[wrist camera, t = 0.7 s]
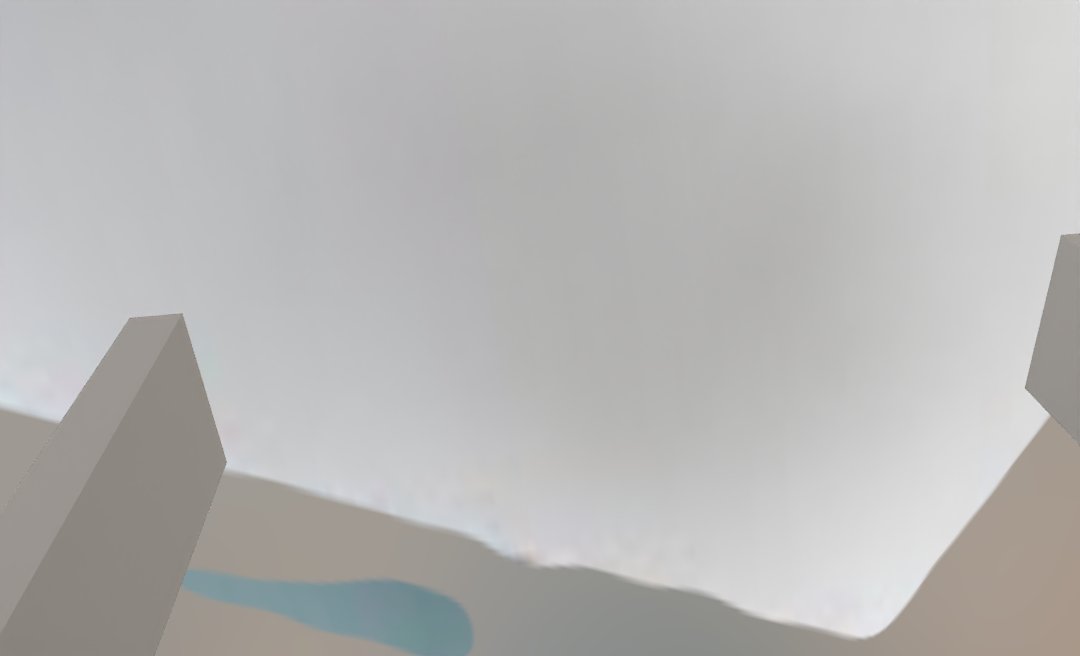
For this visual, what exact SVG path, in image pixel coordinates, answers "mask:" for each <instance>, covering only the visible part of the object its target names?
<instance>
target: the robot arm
mask: <svg viewBox="0 0 1080 656" xmlns="http://www.w3.org/2000/svg"><path fill="white" fill-rule="evenodd" d="M1025 389H1026V390H1027V391H1028V392H1029V393H1030V394H1031V395H1032V396H1033V397H1034V398H1035V399H1036V400H1037V401H1038V402H1039V403H1040V404H1041V405H1042V407H1043V408H1044V409H1045V410H1046V411H1047V412H1048V413H1049V414H1050V415H1051V416H1052V417H1053V418H1054V419H1055V420H1056V421H1057V422H1058V423H1059V424H1060V425H1061V427H1063V429H1064V430H1065V431H1066V432H1067V433H1068V434H1069V435H1070V436H1071V437H1072V438H1073V439H1074V440H1075V441H1076V442H1077V443H1078V444H1079V445H1080V234H1069V235H1061V238H1060V242H1059V247H1058V251H1057V255H1056V259H1055V263H1054V268H1053V272H1052V276H1051V280H1050V284H1049V289H1048V293H1047V297H1046V301H1045V305H1044V310H1043V314H1042V318H1041V322H1040V327H1039V331H1038V335H1037V339H1036V343H1035V348H1034V352H1033V356H1032V360H1031V364H1030V369H1029V373H1028V377H1027V381H1026V385H1025ZM226 463H227V461H226V458H225V455H224V451H223V448H222V445H221V441H220V438H219V435H218V431H217V428H216V425H215V421H214V418H213V415H212V411H211V408H210V404H209V401H208V398H207V394H206V391H205V388H204V384H203V381H202V378H201V374H200V371H199V368H198V364H197V361H196V358H195V354H194V351H193V348H192V344H191V341H190V338H189V334H188V331H187V328H186V324H185V321H184V318H183V314H171V315H159V316H148V317H137V318H130V319H129V320H128V322H127V323H126V325H125V326H124V328H123V329H122V331H121V332H120V334H119V335H118V337H117V338H116V340H115V341H114V343H113V344H112V346H111V347H110V349H109V350H108V352H107V353H106V355H105V356H104V358H103V359H102V361H101V362H100V364H99V365H98V367H97V368H96V370H95V371H94V373H93V374H92V376H91V377H90V379H89V380H88V382H87V383H86V385H85V386H84V388H83V389H82V391H81V392H80V394H79V395H78V397H77V398H76V400H75V401H74V403H73V404H72V406H71V407H70V409H69V410H68V412H67V413H66V415H65V416H64V418H63V419H62V421H61V422H60V424H59V425H58V427H57V428H56V430H55V432H54V433H53V434H52V436H51V438H50V439H49V440H48V442H47V443H46V445H45V446H44V448H43V449H42V451H41V452H40V454H39V455H38V457H37V458H36V460H35V461H34V463H33V464H32V466H31V467H30V469H29V470H28V472H27V473H26V475H25V477H24V478H23V480H22V481H21V482H20V484H19V485H18V487H17V488H16V490H15V491H14V493H13V495H12V496H11V497H10V499H9V501H8V502H7V504H6V505H5V506H4V508H3V509H2V511H1V512H0V656H155V654H156V651H157V649H158V646H159V643H160V640H161V638H162V635H163V632H164V630H165V627H166V624H167V622H168V619H169V616H170V613H171V611H172V608H173V605H174V603H175V600H176V597H177V595H178V592H179V589H180V587H181V584H182V581H183V579H184V576H185V573H186V571H187V568H188V565H189V562H190V560H191V557H192V554H193V552H194V549H195V546H196V543H197V540H198V538H199V536H200V533H201V530H202V527H203V525H204V522H205V519H206V517H207V514H208V511H209V509H210V506H211V503H212V501H213V498H214V495H215V492H216V490H217V487H218V484H219V482H220V479H221V476H222V474H223V471H224V468H225V466H226Z"/></svg>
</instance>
